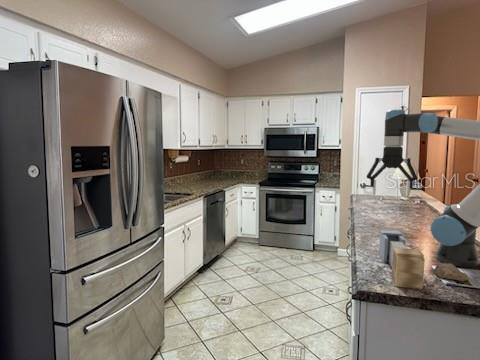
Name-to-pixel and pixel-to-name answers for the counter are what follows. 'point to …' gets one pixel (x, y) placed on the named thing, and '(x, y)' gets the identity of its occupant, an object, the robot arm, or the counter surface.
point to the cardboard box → (408, 268)
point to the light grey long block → (392, 245)
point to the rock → (450, 272)
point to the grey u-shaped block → (388, 242)
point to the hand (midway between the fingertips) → (390, 195)
